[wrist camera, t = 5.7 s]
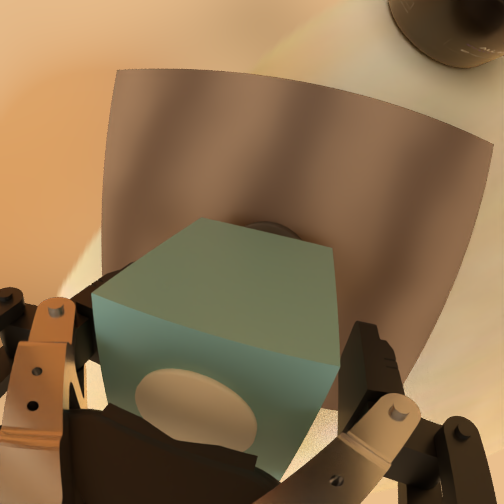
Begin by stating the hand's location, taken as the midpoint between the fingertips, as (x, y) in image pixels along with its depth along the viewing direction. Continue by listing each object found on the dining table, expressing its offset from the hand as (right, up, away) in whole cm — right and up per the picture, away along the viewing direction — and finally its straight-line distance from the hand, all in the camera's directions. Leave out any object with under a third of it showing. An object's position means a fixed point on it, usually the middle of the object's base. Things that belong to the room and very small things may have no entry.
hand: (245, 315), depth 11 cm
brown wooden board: (+1, +2, +6) cm, 7 cm away
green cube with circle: (0, +1, +2) cm, 2 cm away
